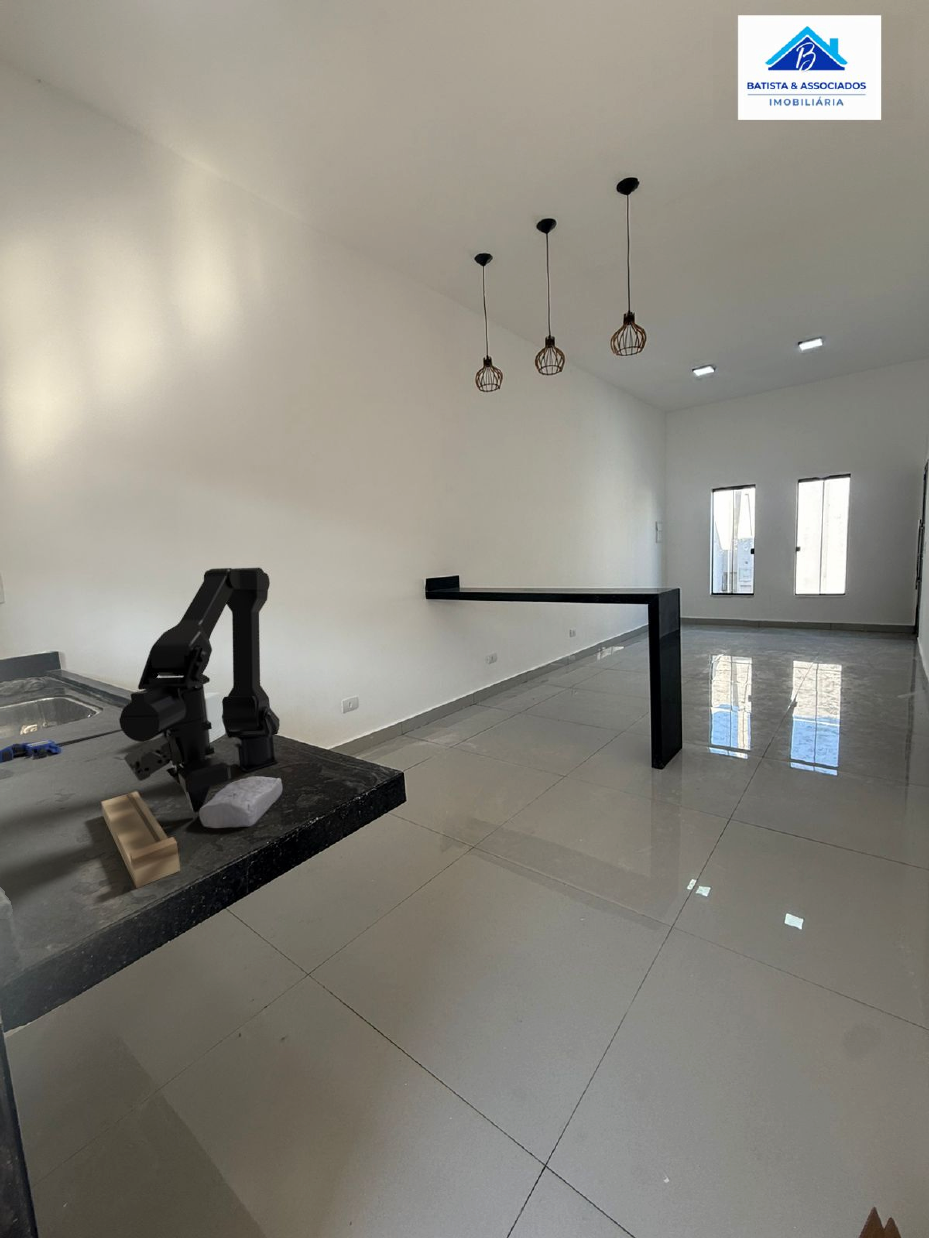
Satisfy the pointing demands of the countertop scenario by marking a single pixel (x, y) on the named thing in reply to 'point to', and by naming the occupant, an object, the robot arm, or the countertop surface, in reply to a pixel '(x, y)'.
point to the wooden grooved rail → (140, 839)
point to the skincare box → (214, 715)
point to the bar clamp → (38, 748)
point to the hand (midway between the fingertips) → (196, 810)
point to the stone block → (241, 802)
